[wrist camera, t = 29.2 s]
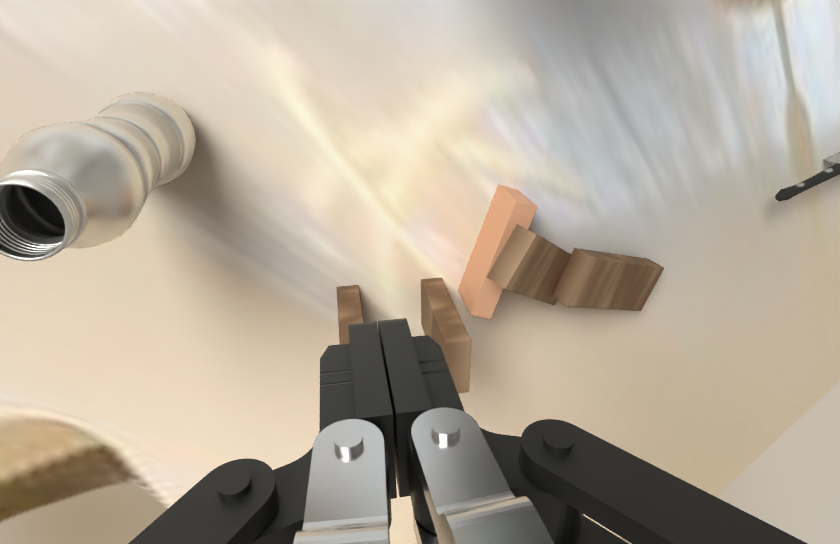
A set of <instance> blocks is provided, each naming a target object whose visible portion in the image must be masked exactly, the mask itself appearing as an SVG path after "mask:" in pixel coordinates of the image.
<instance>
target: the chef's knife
mask: <svg viewBox="0 0 840 544" xmlns="http://www.w3.org/2000/svg"><path fill="white" fill-rule="evenodd" d="M824 161H826V162H828V163H829V164H831V165H832V166H831V167H829V168H827V169H825V170H824V171H822V172H820V173H818V174H817V175H815V176H813V177H811V178H809V179H807V180H805V181H803V182H801V183H799V184H796V185H794V186H791V187H788V188H785V189H781V190H780V191H779V192H778V193H777V195H776V196H775V198H776V200H778V201H783V200H788V199H790V198H792V197H793V196H795V195H797V194H799V193H801V192H803V191H805V190H807V189H809V188H811V187H813V186H815V185H817V184H820V183H822V182H824V181H826V180H828V179H830V178H832V177H835V176H837V175H839V174H840V152H839V153H837V154H835V155H832V156H830V157H828V158H826V159H824Z"/></svg>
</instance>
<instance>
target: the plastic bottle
mask: <svg viewBox="0 0 840 544" xmlns="http://www.w3.org/2000/svg"><path fill="white" fill-rule="evenodd" d="M195 145H196V136H195V131H194V127H193V125H192V123H191V120H190V119H189V117H188V116H187V114H186V113H185V112H184V111H183V109H182V108H181V107H180V106H179V105H177V104H176V103H174V102H173V101H171V100H170V99H168V98H165V97H163V96H160V95H156V94H152V93H142V92H135V93H128V94H125V95H122V96H119V97H117V98H116V99H114V100H112V101H111V102H110V103H109V104H108V105H106V106H105V107H104V108H103V109H102V110H101V111H100V113H99V114H98V115H97V116H96V117H94V118H93V119H89V120H86V121H83V122H70V123H59V124H52V125H48V126H43V127H40V128H37V129H34V130H31V131H30V132H28V133H26V134H25V135H23V136H21V137H20V138H19V139H18V140H17V141H16V142H15V143H14V144H13V145H12V147H11V148H10V150H9V151H8V153H7V154H6V156H5V158H4V159H3V161H2V163H1V167H0V254H2V255H4V256H7V257H10V258H13V259H16V260H22V261H38V260H43V259H46V258H49V257H51V256H53V255H55V254H57V253H59V252H60V251H61V250H62V249H64V248H86V247H93V246H96V245H100V244H103V243H106V242H109V241H112V240H114V239H116V238H117V237H119V236H121V235H122V234H123V233H125V232H126V231H127V230H128V229H129V228H130V227H131V225H132V224H133V223H134V221H135V220H136V218H137V217H138V215H139V214H140V212H141V210H142V208H143V206H144V203H145V201H146V199H147V197H148V195H149V194H150V193H151V191H152V190H153V189H154V188H155V187H157V186H159V185H162V184H165V183H167V182H169V181H171V180H173V179H175V178H176V177H178V176H180V175H181V174H182V173H183V172H184V171H185V170H186V169H187V167H188V166H189V164H190V163H191V160H192V158H193V155H194V150H195Z"/></svg>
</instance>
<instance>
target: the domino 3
mask: <svg viewBox="0 0 840 544" xmlns="http://www.w3.org/2000/svg"><path fill="white" fill-rule="evenodd" d="M536 210H537V206H536V205H535V204H534V203H533V202H531V201H530V200H529V199H528V198H527V197H525V196H524V195H523V194H522V193H521V192H520V191H518V190H516V189H512V188H509V187H505V186H502V185H498V187H497V189H496V192H495V194H494V197H493V200H492V202H491V205H490V207H489V210H488V213H487V215H486V218H485V220H484V223H483V226H482V228H481V231H480V234H479V236H478V239H477V241H476V244H475V247H474V249H473V252H472V254H471V257H470V260H469V262H468V265H467V267H466V270H465V273H464V275H463V278H462V280H461V283H460V286H459V288H458V291H459V293H460V295H461V297H462V299H463V301H464V303H465V305H466V307H467V309H468V311H469V313H470V315H474V316H478V317H483V318H488V319H491V317H492V314H493V312H494V310H495V307H496V305H497V302H498V300H499V298H500V295H501V293H502V291H503V287H501V286H500V285H498V284H496V283H495V282H493V281H492V280H490V279H489V278H487V275H488V273H489V272H490V270H491V268H492V266H493V265H494V263H495V261H496V259H497V258H498V256H499V254H500V253H501V251H502V249H503V247H504V246H505V244H506V242H507V240H508V239H509V237H510V235H511V233H512V232H513V230H514V228H515V227H516V225H517V224H518V225H520V226H522V227H524V228H526V229H529V226H530V224H531V222H532V219H533V217H534V215H535V212H536Z"/></svg>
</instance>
